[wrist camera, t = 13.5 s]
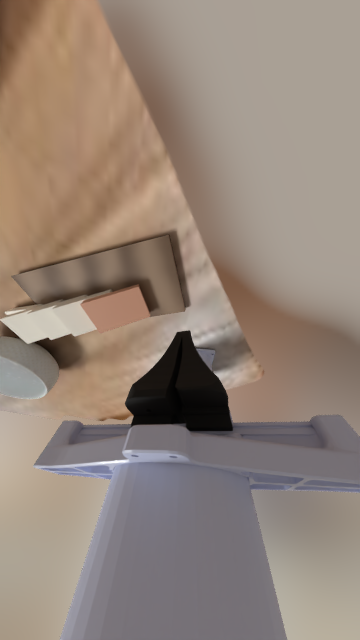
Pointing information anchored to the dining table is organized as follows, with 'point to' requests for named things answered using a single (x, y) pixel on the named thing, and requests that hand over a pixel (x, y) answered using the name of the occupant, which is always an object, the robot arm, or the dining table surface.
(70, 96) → the dining table surface
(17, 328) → the domino
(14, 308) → the domino
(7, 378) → the cereal bowl
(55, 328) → the domino
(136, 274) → the board
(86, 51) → the dining table surface
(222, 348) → the dining table surface
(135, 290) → the terracotta domino
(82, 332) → the domino
